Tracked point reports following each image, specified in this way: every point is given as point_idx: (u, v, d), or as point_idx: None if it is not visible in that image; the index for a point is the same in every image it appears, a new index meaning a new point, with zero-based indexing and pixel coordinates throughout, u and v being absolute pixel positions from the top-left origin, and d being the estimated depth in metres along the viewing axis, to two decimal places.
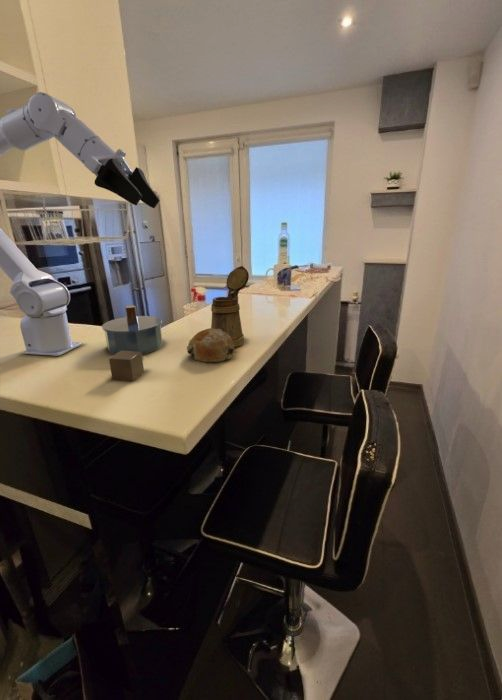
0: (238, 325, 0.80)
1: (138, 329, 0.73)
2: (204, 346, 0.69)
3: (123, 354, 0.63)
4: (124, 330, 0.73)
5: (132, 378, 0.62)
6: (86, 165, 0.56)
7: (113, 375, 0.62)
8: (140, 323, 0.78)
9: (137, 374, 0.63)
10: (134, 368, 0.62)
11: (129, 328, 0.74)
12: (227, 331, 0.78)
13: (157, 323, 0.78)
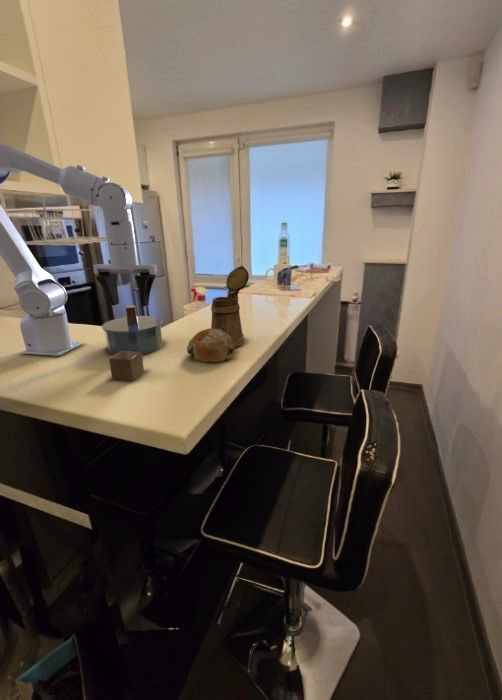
0: (238, 325, 0.80)
1: (138, 329, 0.73)
2: (204, 346, 0.69)
3: (123, 354, 0.63)
4: (124, 330, 0.73)
5: (132, 378, 0.62)
6: (153, 267, 0.72)
7: (113, 375, 0.62)
8: (140, 323, 0.78)
9: (137, 374, 0.63)
10: (134, 368, 0.62)
11: (129, 328, 0.74)
12: (227, 331, 0.78)
13: (157, 323, 0.78)
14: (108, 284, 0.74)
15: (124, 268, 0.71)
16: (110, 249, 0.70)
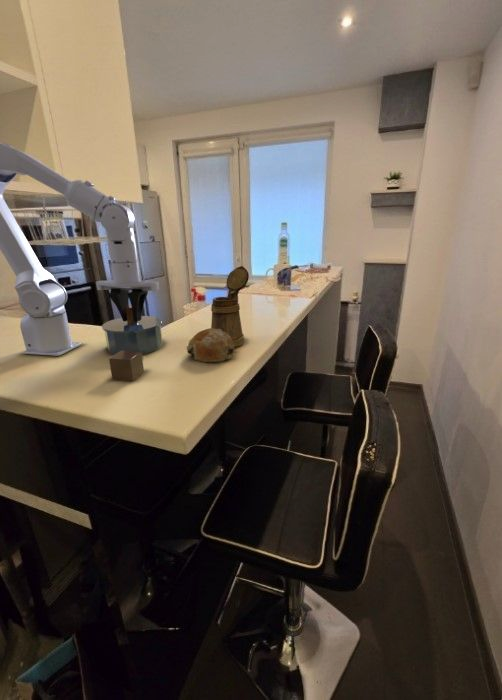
0: (238, 325, 0.80)
1: (138, 329, 0.73)
2: (204, 346, 0.69)
3: (123, 354, 0.63)
4: (124, 330, 0.73)
5: (132, 378, 0.62)
6: (155, 284, 0.73)
7: (113, 375, 0.62)
8: (140, 323, 0.78)
9: (137, 374, 0.63)
10: (134, 368, 0.62)
11: (129, 328, 0.74)
12: (227, 331, 0.78)
13: (157, 323, 0.78)
14: (120, 301, 0.75)
15: (126, 285, 0.72)
16: (113, 267, 0.72)
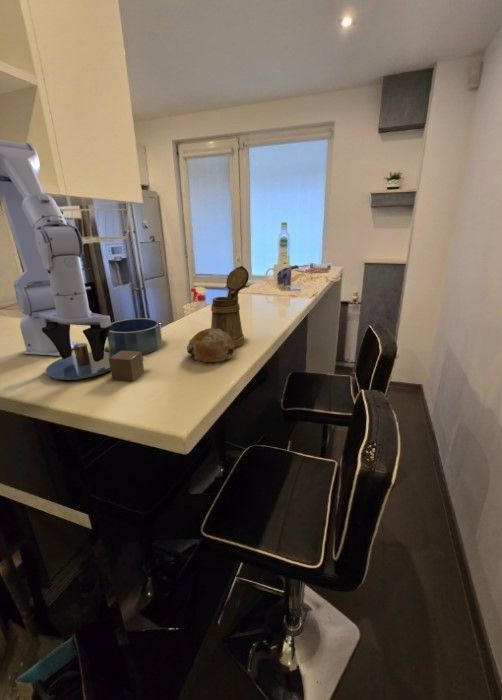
0: (238, 325, 0.80)
1: (84, 374, 0.63)
2: (204, 346, 0.69)
3: (123, 354, 0.63)
4: (68, 375, 0.62)
5: (132, 378, 0.62)
6: (104, 319, 0.62)
7: (113, 375, 0.62)
8: (92, 364, 0.67)
9: (137, 374, 0.63)
10: (134, 368, 0.62)
11: (75, 372, 0.64)
12: (227, 331, 0.78)
13: None
14: (56, 336, 0.65)
15: (71, 321, 0.62)
16: (54, 300, 0.61)
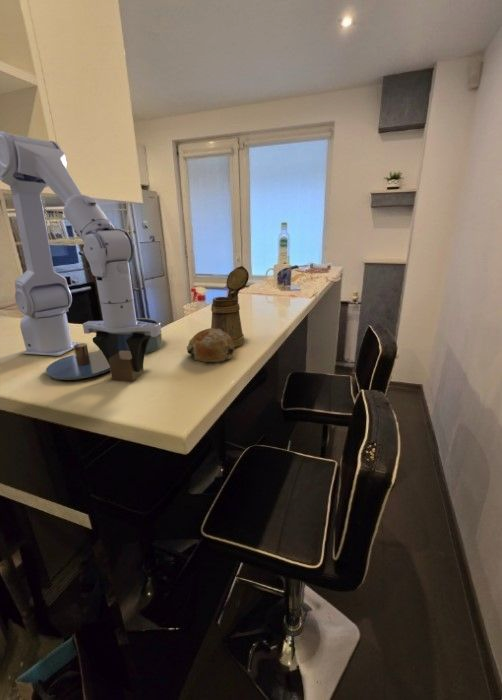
0: (238, 325, 0.80)
1: (84, 374, 0.63)
2: (204, 346, 0.69)
3: (123, 354, 0.63)
4: (68, 375, 0.62)
5: (132, 378, 0.62)
6: (155, 328, 0.59)
7: (113, 375, 0.62)
8: (92, 364, 0.67)
9: (137, 374, 0.63)
10: None
11: (75, 372, 0.64)
12: (227, 331, 0.78)
13: None
14: (107, 347, 0.61)
15: (120, 330, 0.58)
16: (103, 308, 0.57)
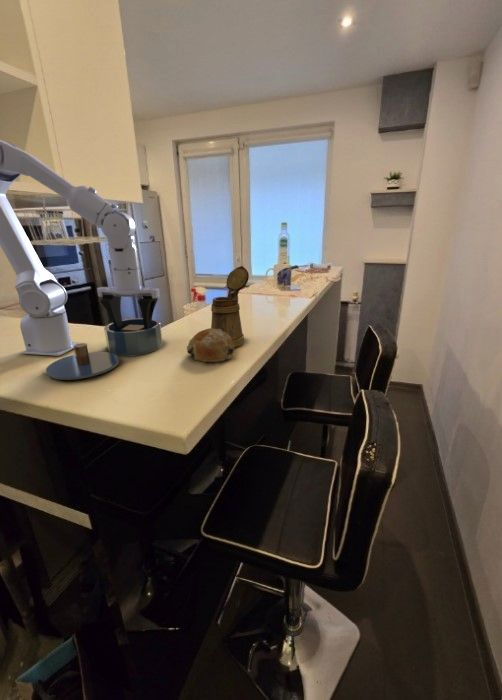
0: (238, 325, 0.80)
1: (84, 374, 0.63)
2: (204, 346, 0.69)
3: (132, 327, 0.79)
4: (68, 375, 0.62)
5: None
6: (156, 291, 0.74)
7: None
8: (92, 364, 0.67)
9: None
10: None
11: (75, 372, 0.64)
12: (227, 331, 0.78)
13: (111, 364, 0.67)
14: (112, 307, 0.76)
15: (127, 292, 0.73)
16: (114, 274, 0.72)
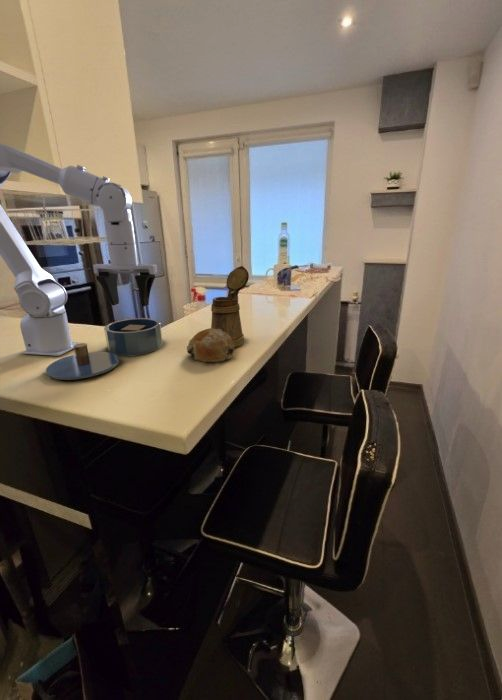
0: (238, 325, 0.80)
1: (84, 374, 0.63)
2: (204, 346, 0.69)
3: (132, 327, 0.79)
4: (68, 375, 0.62)
5: None
6: (153, 267, 0.72)
7: None
8: (92, 364, 0.67)
9: None
10: None
11: (75, 372, 0.64)
12: (227, 331, 0.78)
13: (111, 364, 0.67)
14: (108, 284, 0.74)
15: (124, 268, 0.71)
16: (110, 249, 0.70)
